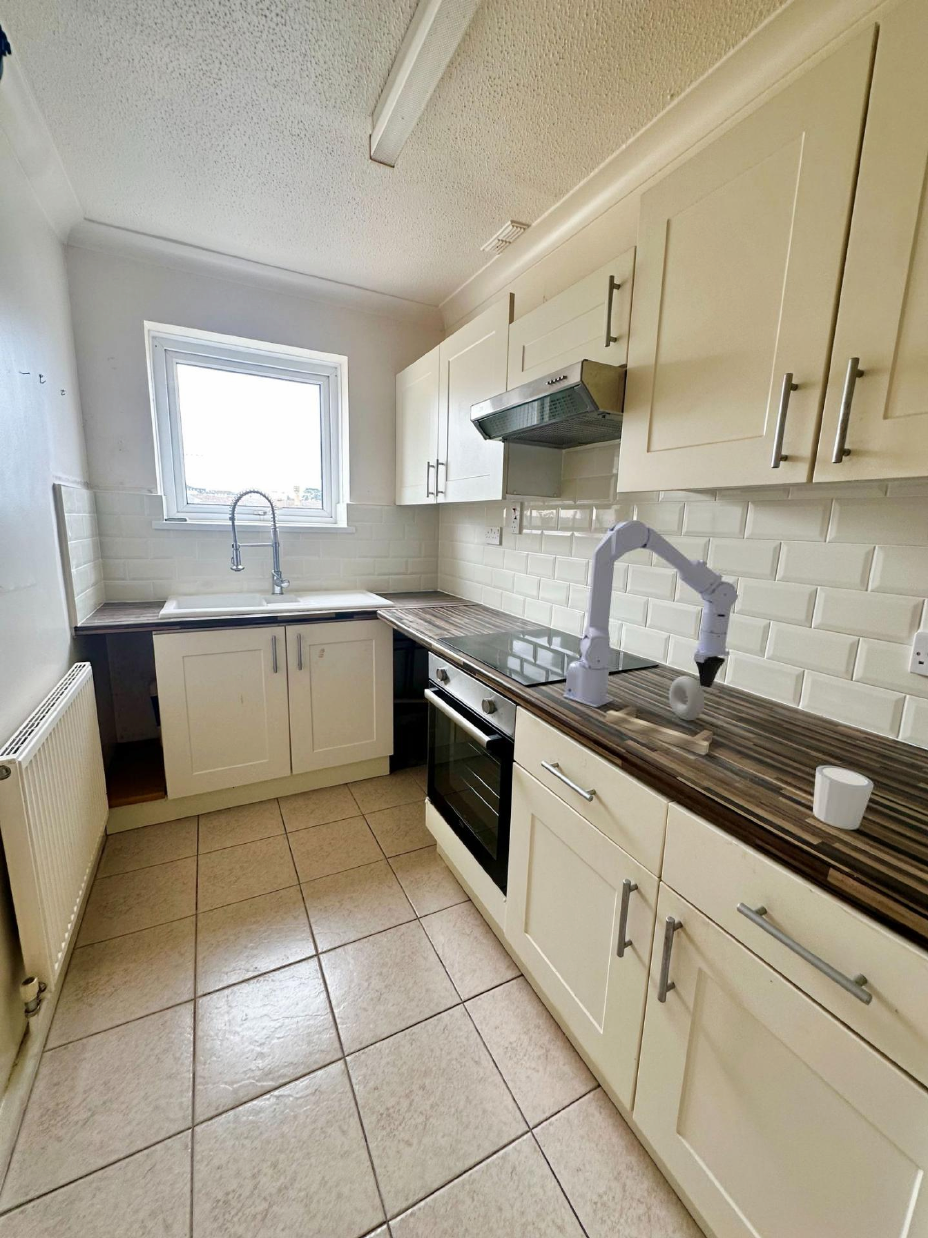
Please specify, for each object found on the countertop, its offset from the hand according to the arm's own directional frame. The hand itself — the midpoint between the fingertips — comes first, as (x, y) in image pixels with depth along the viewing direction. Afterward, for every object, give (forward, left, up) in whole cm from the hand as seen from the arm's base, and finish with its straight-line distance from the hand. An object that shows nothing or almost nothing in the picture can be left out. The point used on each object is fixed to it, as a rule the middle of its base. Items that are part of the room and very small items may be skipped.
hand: (705, 686), depth 118 cm
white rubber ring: (0, -11, -6) cm, 13 cm away
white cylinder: (+32, -33, -6) cm, 46 cm away
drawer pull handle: (0, -23, -6) cm, 24 cm away
